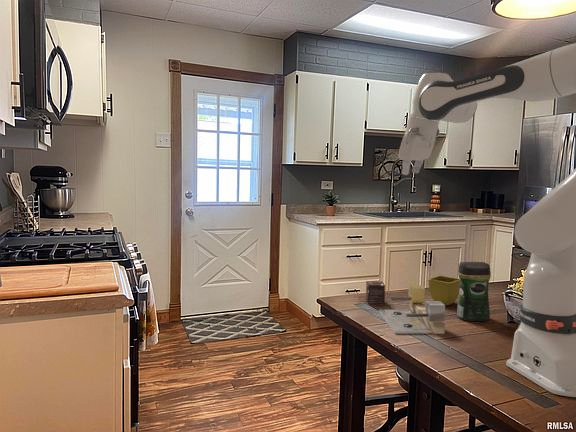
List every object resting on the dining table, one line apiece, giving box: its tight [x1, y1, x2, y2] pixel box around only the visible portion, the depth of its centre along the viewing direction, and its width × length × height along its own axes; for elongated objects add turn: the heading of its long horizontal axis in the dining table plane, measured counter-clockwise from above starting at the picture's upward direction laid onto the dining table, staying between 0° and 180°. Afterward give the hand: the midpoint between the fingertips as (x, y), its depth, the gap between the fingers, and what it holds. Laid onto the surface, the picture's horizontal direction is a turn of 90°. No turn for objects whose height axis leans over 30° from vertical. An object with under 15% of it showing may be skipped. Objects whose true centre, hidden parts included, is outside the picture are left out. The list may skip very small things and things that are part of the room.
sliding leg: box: [391, 285, 426, 304], centre depth 148 cm, size 4×11×5 cm, turn 91°
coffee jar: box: [456, 261, 492, 322], centre depth 140 cm, size 10×8×19 cm
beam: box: [406, 300, 446, 335], centre depth 138 cm, size 24×11×8 cm, turn 1°
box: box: [365, 280, 386, 306], centre depth 158 cm, size 6×6×7 cm
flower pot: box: [427, 275, 460, 306], centre depth 157 cm, size 9×9×9 cm
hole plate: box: [379, 309, 430, 335], centre depth 136 cm, size 20×10×1 cm, turn 1°
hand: (410, 173), depth 132 cm, fingers open, 8 cm apart
